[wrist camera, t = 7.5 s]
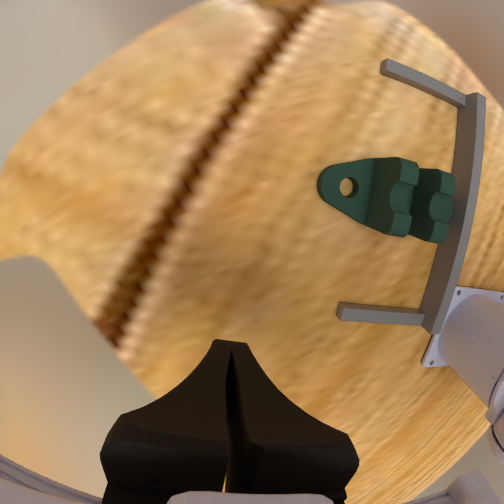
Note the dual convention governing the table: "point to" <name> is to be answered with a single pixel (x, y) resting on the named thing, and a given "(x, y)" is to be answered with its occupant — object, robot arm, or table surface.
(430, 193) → the mount
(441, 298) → the u-shaped gray bracket
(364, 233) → the table surface
